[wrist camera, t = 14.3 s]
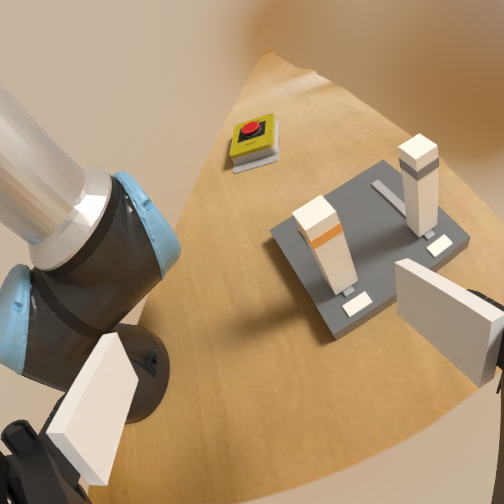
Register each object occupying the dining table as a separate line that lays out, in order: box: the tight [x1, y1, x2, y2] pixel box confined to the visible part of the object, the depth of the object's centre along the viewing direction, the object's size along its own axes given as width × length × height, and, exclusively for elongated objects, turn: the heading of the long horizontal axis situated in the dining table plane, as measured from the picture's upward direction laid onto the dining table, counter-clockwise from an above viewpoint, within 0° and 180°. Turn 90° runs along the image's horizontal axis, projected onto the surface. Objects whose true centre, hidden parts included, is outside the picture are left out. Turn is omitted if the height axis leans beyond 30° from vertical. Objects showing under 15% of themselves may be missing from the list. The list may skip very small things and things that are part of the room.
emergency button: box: [229, 114, 279, 173], centre depth 61 cm, size 9×4×15 cm
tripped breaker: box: [292, 195, 358, 295], centre depth 31 cm, size 3×3×12 cm
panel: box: [269, 160, 470, 340], centre depth 38 cm, size 18×20×2 cm
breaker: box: [398, 134, 439, 237], centre depth 30 cm, size 3×3×12 cm
